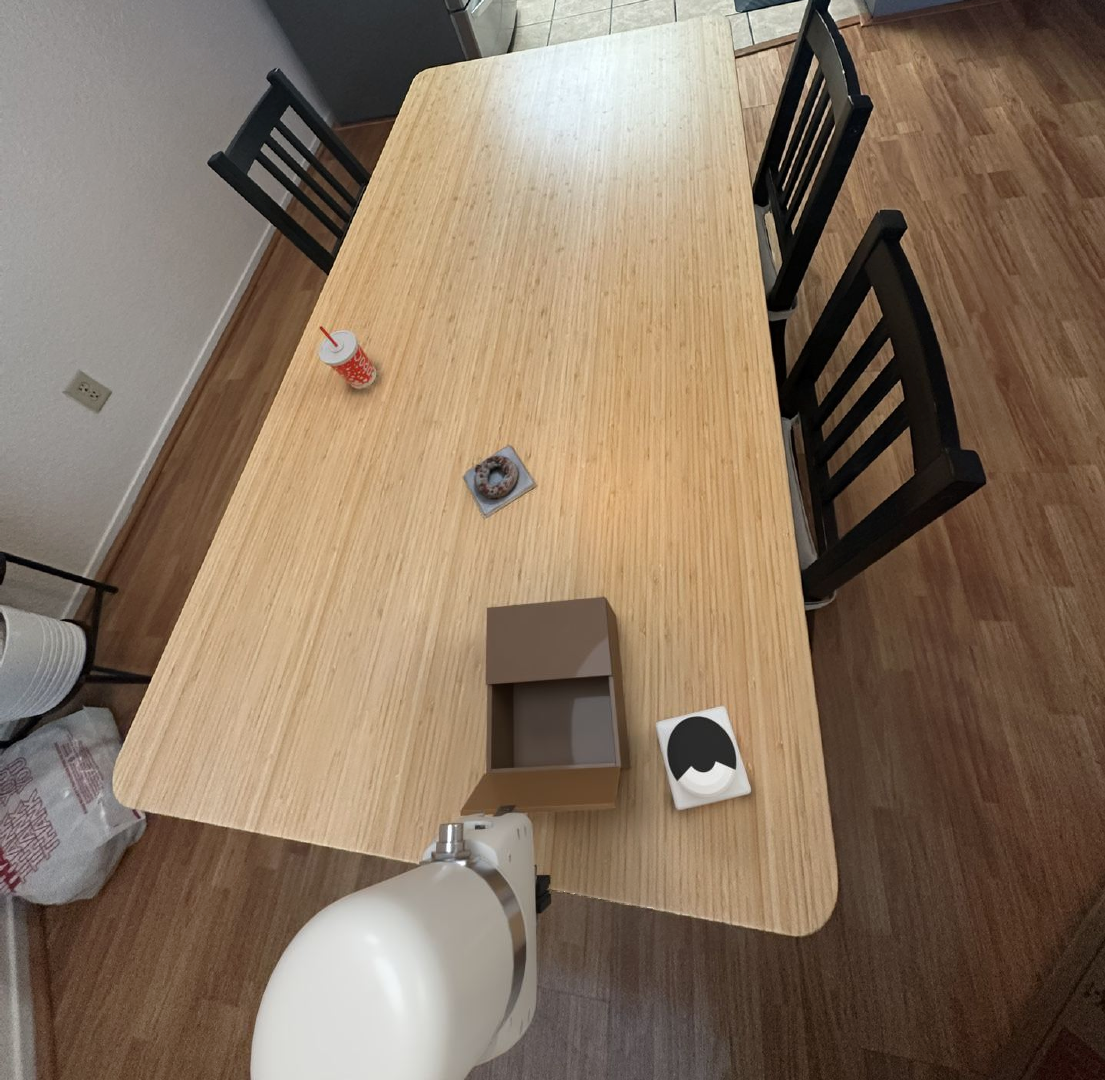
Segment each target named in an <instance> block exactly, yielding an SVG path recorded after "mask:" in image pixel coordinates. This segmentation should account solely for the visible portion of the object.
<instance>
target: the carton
mask: <svg viewBox="0 0 1105 1080" xmlns="http://www.w3.org/2000/svg"><path fill="white" fill-rule="evenodd" d="M485 637H486V638H485V639H486V641H485V645H486V646H485V685H486V686H487V689H486V692H487V693H486V694H487V695H486V748H485V749H486V750H485V751H486V753H485V758H486V759H485V774H487V773H505V772H524V771H542V770H560V769H578V768H597V767H615V766H620V770H623V769H624V770H625V769H631V767H632V766H631V757H630V746H629V745H630V744H629V735H628V725H627V714H626V702H625V694H624V683H623V673H622V662H621V661H622V660H621V652H620V651H621V650H620V641H619V630H618V619H617V615H616V613H615V611H614V609H613V607H612V605H611V604H610V602H609V600H608V598H607V597H606V596H599V597H589V598H577V599H576V598H575V599H566V600H555V601H544V602H534V603H533V602H531V603H521V604H512V605H500V606H491V607H486V635H485Z"/></svg>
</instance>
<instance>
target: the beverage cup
mask: <svg viewBox="0 0 1105 1080" xmlns="http://www.w3.org/2000/svg"><path fill="white" fill-rule="evenodd" d="M318 329H319V330H320V331H321V332H322V333H323V334H324V335H325V338H324V339H323V340H322V342H321V343H320V345H319V347H318V357H319V360H321V362H323V363H324V364H325V365H326V366H329V367H331V368H332V369H333V371H335V372H336V373H337V374H338V375H339V376H340V377H342V378H343V380H344V381H346V382H347V383H348V384H349V385H350V386H351V387H353V388H354V389H357V390H362V389H366V388H369V386H370V385H372V384H373V383H374V382H375V380H376V378H377V370H376V367H375V366H374V365H373V363H372V361H371V360H370V359H369V357H368V356H367V354H366V352H365V351H364V349H363V348H362V347H361V345H360V343H359V340H358V338H357V337H356V334H355V333H353V332H352V331H350V330H345V329H341V330H337V331H333V332H332V333H330V334H329V332H328V331H327V330H326V329H325V328H324V327H323V326H322V325H321V326H319V328H318Z"/></svg>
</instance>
